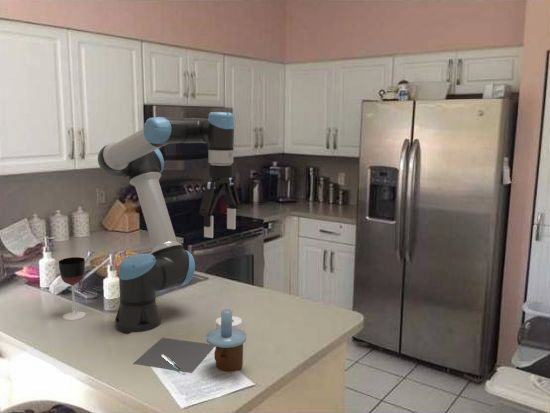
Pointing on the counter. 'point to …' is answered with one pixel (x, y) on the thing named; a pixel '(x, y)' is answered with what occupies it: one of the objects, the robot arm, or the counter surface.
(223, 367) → the mug
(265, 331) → the counter surface
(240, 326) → the toilet paper
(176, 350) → the mat
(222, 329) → the lid
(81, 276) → the wineglass
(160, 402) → the counter surface
